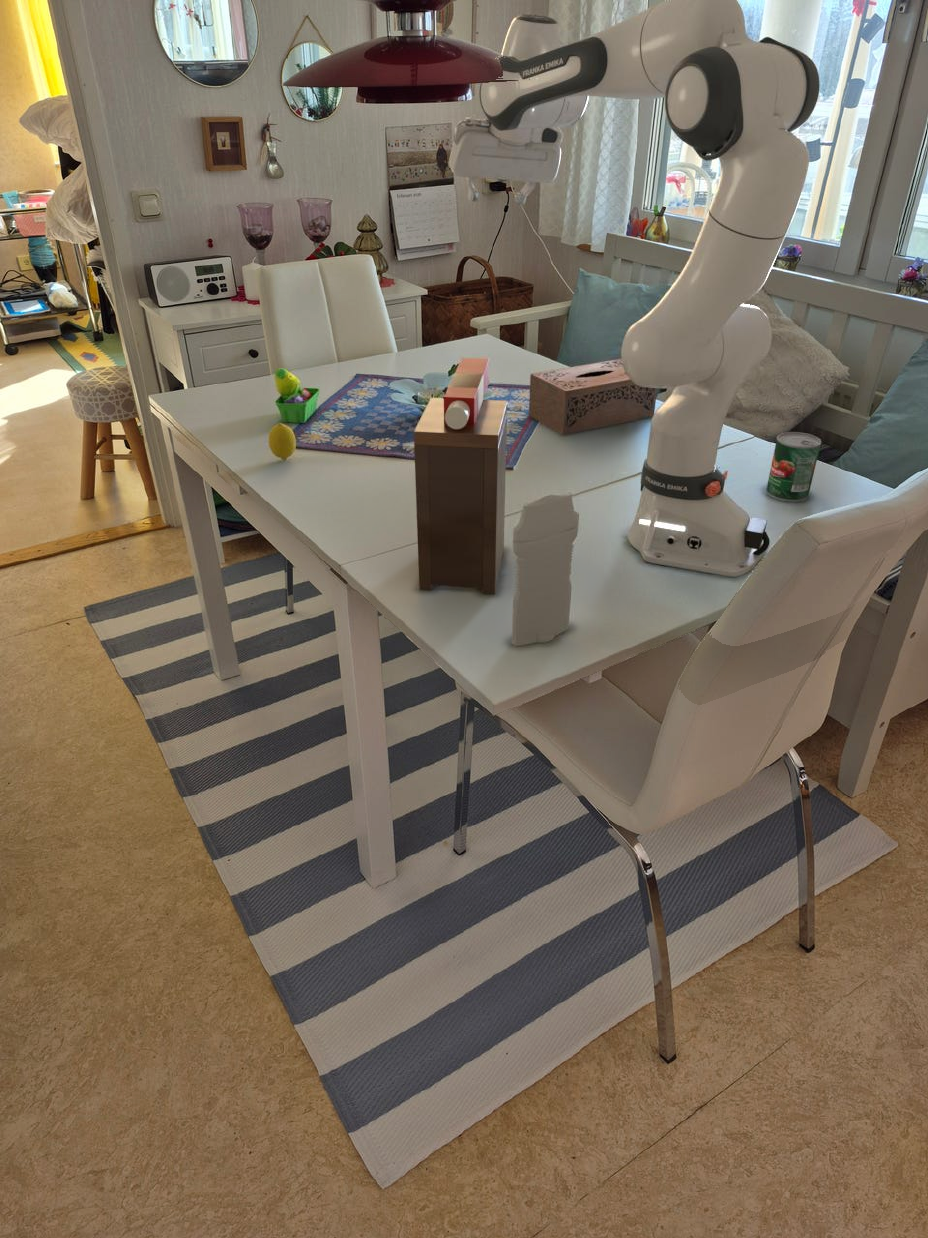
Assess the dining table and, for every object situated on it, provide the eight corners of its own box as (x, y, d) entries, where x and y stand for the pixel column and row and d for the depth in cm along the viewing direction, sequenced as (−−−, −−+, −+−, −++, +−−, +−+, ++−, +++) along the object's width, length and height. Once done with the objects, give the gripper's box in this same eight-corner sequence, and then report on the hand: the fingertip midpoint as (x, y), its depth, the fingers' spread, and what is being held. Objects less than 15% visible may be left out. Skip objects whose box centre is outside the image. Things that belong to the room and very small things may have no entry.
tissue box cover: (616, 398, 213) (620, 358, 208) (653, 416, 203) (658, 374, 197) (528, 415, 203) (530, 373, 198) (562, 434, 192) (565, 391, 187)
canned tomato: (757, 492, 166) (768, 438, 160) (780, 481, 170) (791, 428, 164) (794, 505, 161) (806, 450, 155) (816, 494, 165) (829, 440, 159)
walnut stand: (434, 545, 148) (430, 397, 134) (503, 549, 146) (507, 400, 132) (419, 589, 135) (413, 431, 121) (494, 594, 134) (498, 435, 120)
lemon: (292, 465, 178) (287, 428, 173) (267, 463, 179) (262, 426, 174) (301, 455, 182) (297, 419, 178) (277, 454, 183) (272, 417, 179)
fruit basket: (308, 425, 198) (303, 376, 192) (271, 423, 199) (265, 374, 193) (322, 409, 207) (318, 362, 201) (287, 407, 209) (282, 360, 202)
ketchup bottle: (472, 432, 121) (472, 404, 118) (440, 431, 121) (439, 403, 119) (489, 382, 140) (489, 358, 138) (461, 381, 140) (461, 357, 138)
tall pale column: (562, 618, 128) (571, 481, 116) (578, 631, 125) (590, 492, 113) (502, 638, 123) (505, 498, 112) (517, 652, 120) (523, 509, 109)
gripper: (462, 124, 144) (448, 206, 155) (571, 135, 151) (550, 212, 161) (452, 108, 148) (438, 189, 158) (559, 119, 155) (539, 196, 165)
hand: (496, 201), depth 160 cm, fingers open, 8 cm apart
